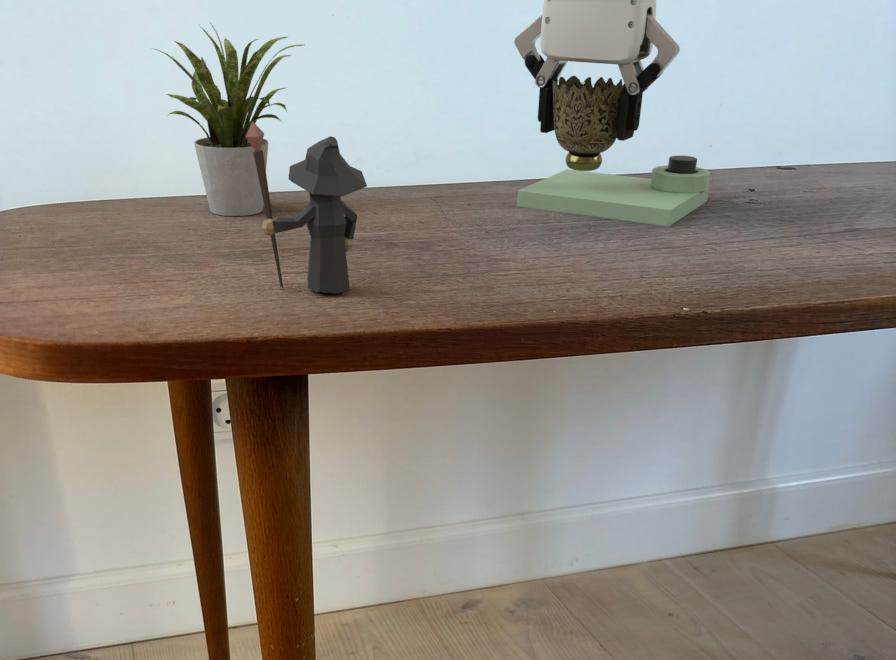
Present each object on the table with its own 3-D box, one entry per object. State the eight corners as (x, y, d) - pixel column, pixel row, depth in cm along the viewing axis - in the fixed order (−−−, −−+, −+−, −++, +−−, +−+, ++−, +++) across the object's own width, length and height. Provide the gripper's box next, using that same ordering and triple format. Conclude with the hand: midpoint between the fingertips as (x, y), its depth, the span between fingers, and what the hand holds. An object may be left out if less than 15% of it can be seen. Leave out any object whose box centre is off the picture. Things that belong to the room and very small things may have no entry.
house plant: (336, 198, 109) (331, 16, 100) (301, 229, 98) (292, 27, 89) (205, 191, 111) (188, 12, 102) (156, 221, 100) (132, 23, 91)
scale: (711, 201, 110) (716, 168, 109) (671, 227, 101) (677, 192, 99) (566, 184, 117) (569, 152, 115) (516, 207, 107) (518, 173, 105)
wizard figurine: (349, 276, 86) (345, 113, 79) (378, 294, 81) (376, 124, 75) (252, 288, 82) (239, 119, 76) (277, 308, 78) (266, 131, 72)
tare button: (698, 173, 108) (700, 157, 107) (690, 178, 106) (692, 161, 105) (671, 170, 109) (674, 154, 109) (663, 175, 107) (665, 158, 107)
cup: (604, 179, 102) (613, 87, 98) (534, 171, 105) (540, 81, 101) (630, 166, 108) (640, 78, 103) (563, 159, 111) (570, 73, 106)
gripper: (713, -79, 94) (682, 137, 104) (534, -81, 101) (522, 122, 111) (688, -80, 89) (658, 149, 99) (501, -82, 95) (491, 132, 105)
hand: (586, 133), depth 105 cm, fingers closed on cup, 7 cm apart
